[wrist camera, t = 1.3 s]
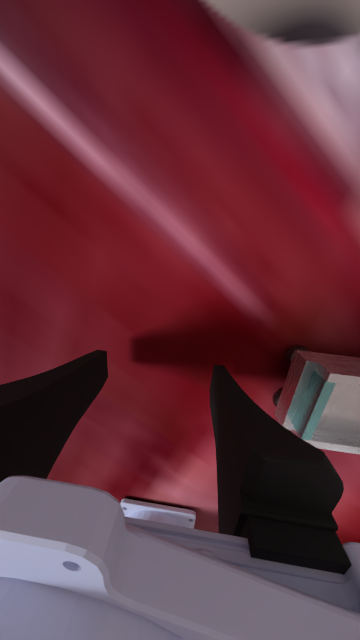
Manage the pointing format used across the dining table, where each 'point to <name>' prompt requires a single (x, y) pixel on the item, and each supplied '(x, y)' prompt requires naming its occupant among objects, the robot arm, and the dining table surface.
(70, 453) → the dining table surface
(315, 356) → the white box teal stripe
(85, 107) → the dining table surface
